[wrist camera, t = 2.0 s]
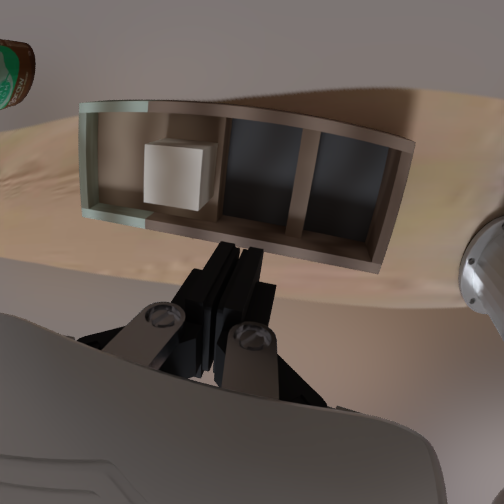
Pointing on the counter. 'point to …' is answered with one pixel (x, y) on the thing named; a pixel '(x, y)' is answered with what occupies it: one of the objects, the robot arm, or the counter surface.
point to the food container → (15, 72)
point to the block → (179, 172)
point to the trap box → (252, 178)
